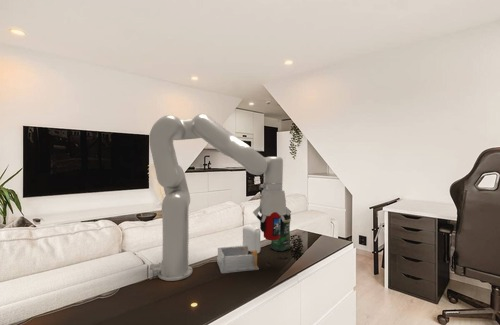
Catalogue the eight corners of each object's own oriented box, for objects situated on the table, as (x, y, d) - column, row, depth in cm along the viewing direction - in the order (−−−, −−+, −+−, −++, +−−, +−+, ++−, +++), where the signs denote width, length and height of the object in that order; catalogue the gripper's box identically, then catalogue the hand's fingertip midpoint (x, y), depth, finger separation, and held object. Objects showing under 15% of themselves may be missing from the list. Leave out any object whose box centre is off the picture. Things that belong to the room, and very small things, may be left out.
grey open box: (221, 273, 99) (221, 255, 99) (216, 259, 112) (216, 243, 112) (258, 269, 103) (258, 251, 102) (249, 256, 116) (249, 241, 116)
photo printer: (241, 248, 127) (241, 223, 127) (248, 246, 130) (248, 222, 130) (254, 254, 119) (255, 227, 119) (261, 252, 122) (261, 226, 122)
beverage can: (279, 242, 100) (280, 211, 100) (262, 240, 101) (262, 210, 101) (280, 237, 107) (281, 208, 107) (264, 235, 108) (265, 207, 108)
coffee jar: (281, 253, 121) (281, 213, 121) (268, 249, 127) (268, 211, 127) (293, 248, 128) (293, 211, 128) (280, 244, 134) (280, 208, 134)
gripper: (254, 188, 98) (253, 234, 98) (296, 188, 103) (295, 232, 103) (249, 186, 105) (248, 229, 105) (289, 186, 110) (288, 227, 110)
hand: (271, 230), depth 104 cm, fingers closed on beverage can, 6 cm apart
